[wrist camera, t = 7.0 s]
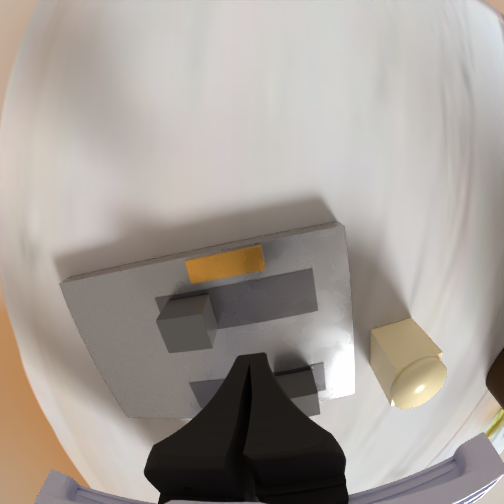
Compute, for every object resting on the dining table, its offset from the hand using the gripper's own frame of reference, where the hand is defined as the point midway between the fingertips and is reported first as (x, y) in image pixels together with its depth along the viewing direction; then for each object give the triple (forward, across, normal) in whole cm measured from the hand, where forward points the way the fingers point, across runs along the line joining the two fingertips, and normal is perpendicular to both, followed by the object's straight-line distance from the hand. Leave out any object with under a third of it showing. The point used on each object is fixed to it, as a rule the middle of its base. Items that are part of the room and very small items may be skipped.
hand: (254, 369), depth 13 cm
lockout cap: (+8, -11, +7) cm, 15 cm away
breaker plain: (+7, -2, +8) cm, 10 cm away
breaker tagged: (+7, +4, 0) cm, 8 cm away
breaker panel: (+8, +4, +3) cm, 10 cm away
